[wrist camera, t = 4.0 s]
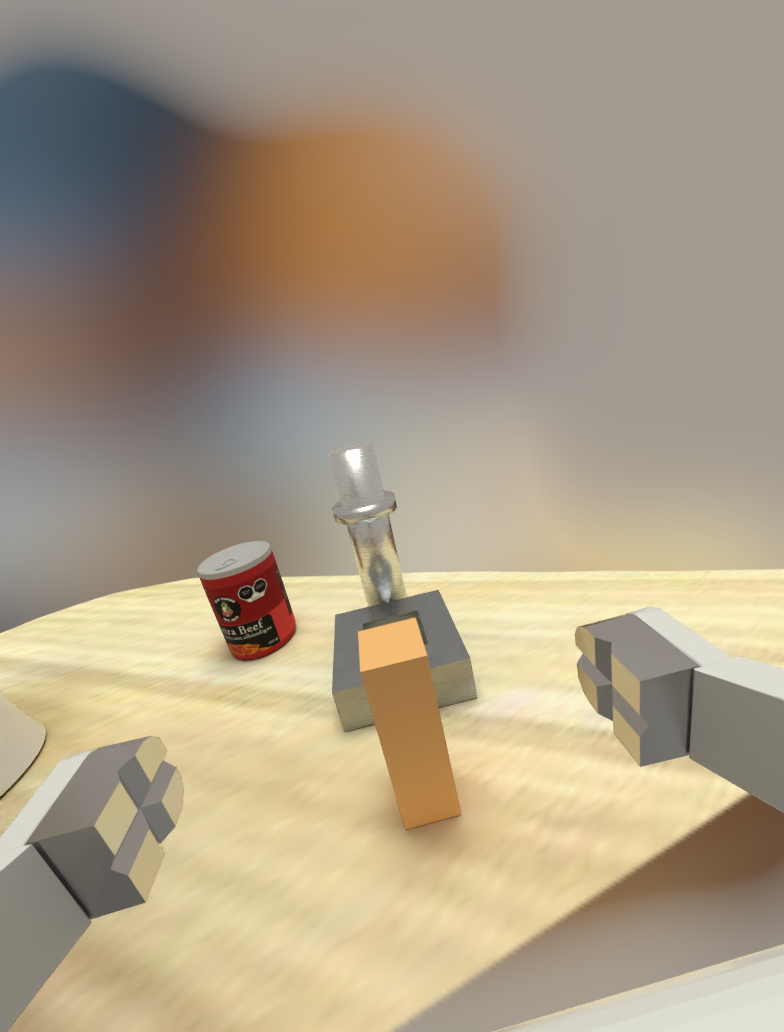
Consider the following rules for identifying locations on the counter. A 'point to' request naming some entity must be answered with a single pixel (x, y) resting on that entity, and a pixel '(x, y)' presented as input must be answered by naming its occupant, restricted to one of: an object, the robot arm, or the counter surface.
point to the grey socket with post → (385, 594)
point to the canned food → (248, 599)
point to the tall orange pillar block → (408, 721)
